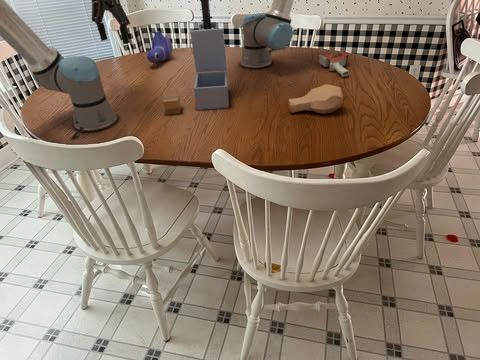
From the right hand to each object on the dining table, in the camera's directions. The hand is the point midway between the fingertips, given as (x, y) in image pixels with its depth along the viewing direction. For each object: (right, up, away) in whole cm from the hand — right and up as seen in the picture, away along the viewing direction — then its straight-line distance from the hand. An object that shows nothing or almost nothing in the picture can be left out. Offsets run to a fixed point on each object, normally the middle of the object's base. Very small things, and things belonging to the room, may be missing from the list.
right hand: (208, 37), depth 141 cm
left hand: (-39, 0, +5) cm, 40 cm away
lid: (0, -7, -3) cm, 7 cm away
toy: (-30, +5, +46) cm, 55 cm away
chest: (+1, -24, +3) cm, 24 cm away
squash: (+40, -31, -10) cm, 52 cm away
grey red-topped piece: (+57, -5, +24) cm, 62 cm away
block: (-13, -30, -3) cm, 33 cm away
